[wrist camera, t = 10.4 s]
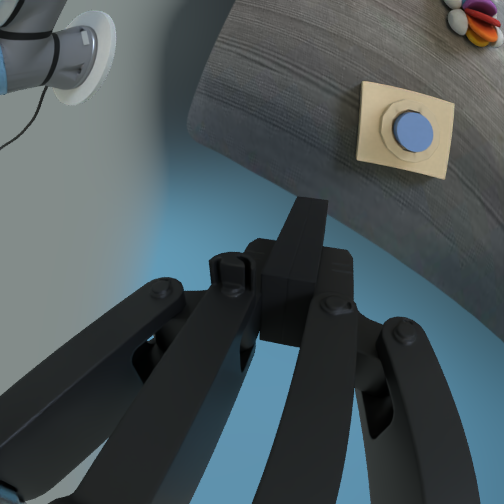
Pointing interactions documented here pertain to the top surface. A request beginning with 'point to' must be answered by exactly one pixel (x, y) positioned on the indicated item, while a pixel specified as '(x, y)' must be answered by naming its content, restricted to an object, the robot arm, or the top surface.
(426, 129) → the blue button
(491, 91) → the top surface
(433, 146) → the button housing
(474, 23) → the rainbow petal toy
